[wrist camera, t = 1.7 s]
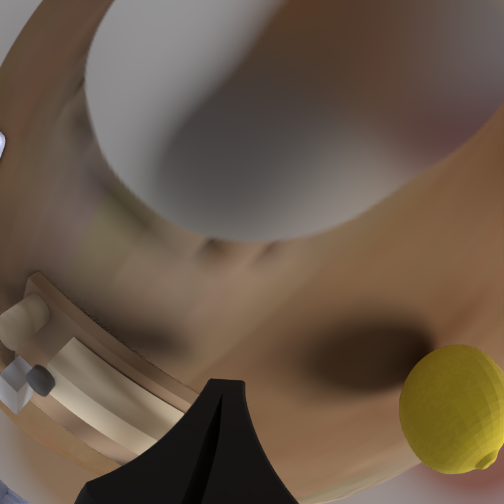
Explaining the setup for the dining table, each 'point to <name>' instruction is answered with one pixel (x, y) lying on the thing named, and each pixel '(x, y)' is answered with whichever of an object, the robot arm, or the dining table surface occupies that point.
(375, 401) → the dining table surface
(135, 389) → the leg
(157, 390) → the board
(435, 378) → the lemon
